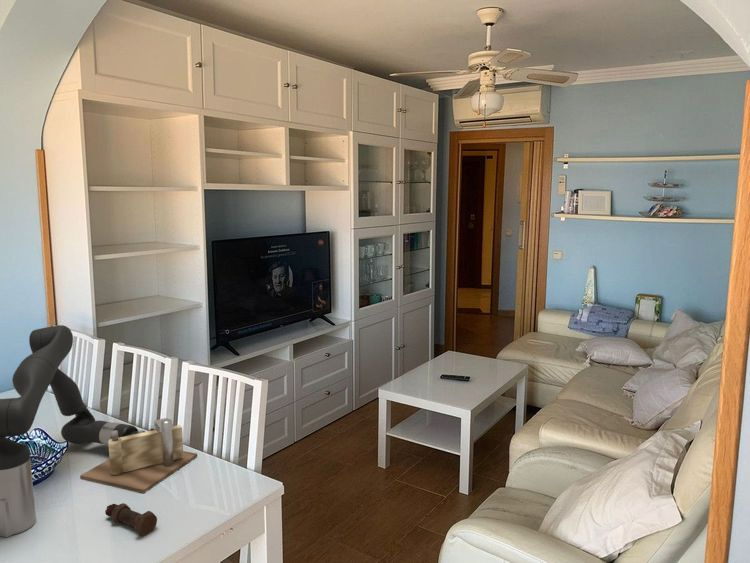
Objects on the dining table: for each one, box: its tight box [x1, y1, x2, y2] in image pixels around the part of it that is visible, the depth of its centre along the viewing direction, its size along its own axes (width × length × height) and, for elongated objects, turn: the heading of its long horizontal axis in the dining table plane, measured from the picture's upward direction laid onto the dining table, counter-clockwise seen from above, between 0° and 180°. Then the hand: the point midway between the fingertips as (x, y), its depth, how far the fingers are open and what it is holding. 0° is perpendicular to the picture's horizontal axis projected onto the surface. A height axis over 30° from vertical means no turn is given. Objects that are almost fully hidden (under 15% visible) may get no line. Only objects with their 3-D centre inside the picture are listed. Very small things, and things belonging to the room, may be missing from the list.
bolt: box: [104, 502, 158, 537], centre depth 148 cm, size 6×5×15 cm
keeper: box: [153, 417, 174, 467], centre depth 178 cm, size 4×8×14 cm, turn 35°
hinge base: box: [79, 430, 198, 494], centre depth 177 cm, size 24×23×14 cm
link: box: [108, 424, 184, 475], centre depth 176 cm, size 21×4×10 cm, turn 124°
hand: (162, 444), depth 180 cm, fingers closed
